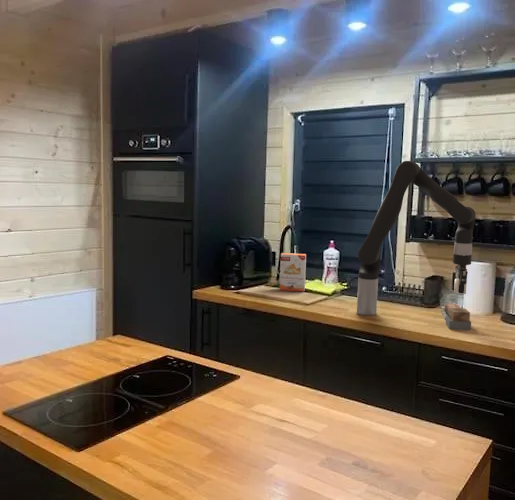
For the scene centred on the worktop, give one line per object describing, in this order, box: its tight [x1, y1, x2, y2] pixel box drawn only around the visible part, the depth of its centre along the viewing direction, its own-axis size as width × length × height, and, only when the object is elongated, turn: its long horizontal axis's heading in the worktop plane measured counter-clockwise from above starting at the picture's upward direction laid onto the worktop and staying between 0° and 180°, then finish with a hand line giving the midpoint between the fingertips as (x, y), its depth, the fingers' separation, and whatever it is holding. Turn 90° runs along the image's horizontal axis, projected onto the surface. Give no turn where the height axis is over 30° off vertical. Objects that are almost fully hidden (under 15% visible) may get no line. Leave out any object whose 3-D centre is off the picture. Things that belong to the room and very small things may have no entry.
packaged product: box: [440, 303, 461, 321], centre depth 263 cm, size 18×5×10 cm
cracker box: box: [279, 252, 307, 293], centre depth 311 cm, size 14×6×21 cm, turn 80°
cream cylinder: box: [453, 278, 468, 295], centre depth 242 cm, size 5×5×6 cm
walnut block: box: [449, 307, 471, 322], centre depth 244 cm, size 7×7×4 cm
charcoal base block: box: [445, 316, 472, 331], centre depth 245 cm, size 9×9×4 cm
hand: (459, 291), depth 242 cm, fingers closed on cream cylinder, 5 cm apart
